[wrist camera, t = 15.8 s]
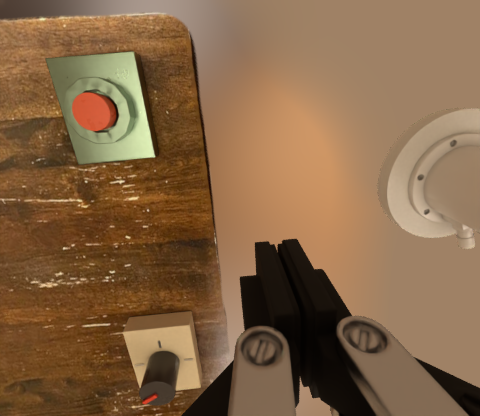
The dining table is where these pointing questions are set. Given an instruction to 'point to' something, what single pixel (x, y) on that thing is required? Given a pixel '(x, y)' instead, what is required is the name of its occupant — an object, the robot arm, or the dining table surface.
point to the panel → (165, 344)
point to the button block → (121, 95)
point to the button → (94, 111)
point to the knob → (160, 378)
